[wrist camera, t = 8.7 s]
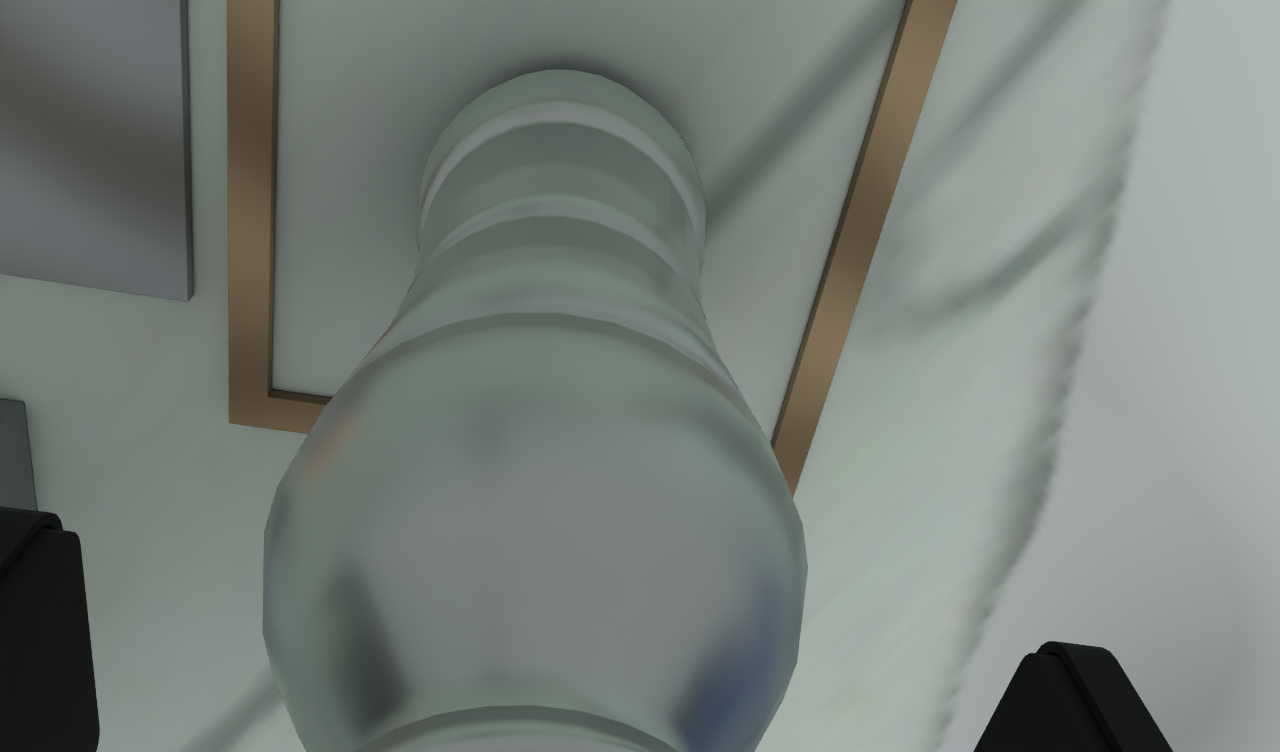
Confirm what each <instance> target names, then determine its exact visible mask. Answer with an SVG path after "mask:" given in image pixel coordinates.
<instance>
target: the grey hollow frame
mask: <svg viewBox="0 0 1280 752" xmlns="http://www.w3.org/2000/svg"><path fill="white" fill-rule="evenodd" d="M0 506H2V507H10V508H18V509H26V510H34V511H37V507H36V499H35V491H34V482H33V474H32V466H31V458H30V449H29V441H28V433H27V424H26V416H25V408H24V402H18V401H11V400H3V399H0Z"/></svg>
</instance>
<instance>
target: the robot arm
mask: <svg viewBox="0 0 1280 752" xmlns="http://www.w3.org/2000/svg"><path fill="white" fill-rule="evenodd" d="M99 734H100V727H99V717H98V708H97V698H96V688H95V679H94V669H93V660H92V650H91V640H90V631H89V621H88V612H87V602H86V592H85V583H84V573H83V564H82V554H81V544H80V540H79V537H78V535H77V534H76V533H75V532H71V531H63V527H62V523H61V520H60V519H59V517H58V516H57V514H53V513H49V512H41V511H34V510H26V509H18V508H10V507H2V506H0V752H96V750H97V746H98V741H99ZM974 752H1173V751H1172V749H1171V747H1170V746H1169V744H1168V743H1167V741H1166V739H1165V738H1164V736H1163V734H1162V733H1161V731H1160V730H1159V728H1158V726H1157V725H1156V723H1155V721H1154V720H1153V718H1152V716H1151V715H1150V713H1149V712H1148V710H1147V708H1146V707H1145V705H1144V703H1143V702H1142V700H1141V698H1140V697H1139V695H1138V694H1137V692H1136V690H1135V689H1134V687H1133V686H1132V684H1131V682H1130V681H1129V679H1128V677H1127V676H1126V674H1125V672H1124V671H1123V669H1122V668H1121V666H1120V664H1119V663H1118V661H1117V659H1115V657H1114V656H1113V655H1112V654H1111V652H1110V651H1108V650H1106V649H1104V648H1101V647H1094V646H1086V645H1079V644H1070V643H1063V642H1055V641H1053V642H1052V641H1049V642H1047V643H1045V644H1043V645H1041V647H1040V648H1039V649H1038V651H1037V652H1036V653H1029V654H1028V655H1026V656H1025V657H1024V658H1023V660H1022V661H1021V663H1020V665H1019V666H1018V668H1017V670H1016V672H1015V674H1014V676H1013V678H1012V680H1011V682H1010V683H1009V685H1008V687H1007V689H1006V691H1005V693H1004V695H1003V697H1002V699H1001V700H1000V702H999V704H998V706H997V708H996V710H995V712H994V714H993V716H992V718H991V719H990V721H989V723H988V725H987V727H986V729H985V731H984V733H983V735H982V736H981V738H980V740H979V742H978V744H977V746H976V748H975V750H974Z"/></svg>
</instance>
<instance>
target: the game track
mask: <svg viewBox="0 0 1280 752" xmlns="http://www.w3.org/2000/svg"><path fill="white" fill-rule="evenodd" d="M956 3H957V0H907V3H906V6H905V10H904V13H903V16H902V19H901V23H900V26H899V29H898V32H897V36H896V39H895V42H894V45H893V49H892V52H891V55H890V58H889V62H888V65H887V68H886V71H885V75H884V78H883V81H882V84H881V88H880V91H879V94H878V97H877V101H876V104H875V107H874V110H873V114H872V117H871V120H870V123H869V127H868V130H867V133H866V136H865V140H864V143H863V146H862V149H861V153H860V156H859V159H858V162H857V166H856V169H855V172H854V175H853V179H852V182H851V185H850V188H849V192H848V195H847V198H846V201H845V205H844V208H843V211H842V214H841V218H840V221H839V224H838V227H837V231H836V234H835V237H834V240H833V244H832V247H831V250H830V253H829V257H828V260H827V263H826V266H825V270H824V273H823V276H822V279H821V283H820V286H819V289H818V292H817V296H816V299H815V302H814V305H813V309H812V312H811V315H810V319H809V322H808V325H807V328H806V332H805V335H804V338H803V341H802V345H801V348H800V351H799V354H798V358H797V361H796V364H795V367H794V371H793V374H792V377H791V380H790V384H789V387H788V390H787V393H786V397H785V400H784V403H783V406H782V410H781V413H780V416H779V419H778V423H777V426H776V429H775V432H774V436H773V439H772V442H771V447H772V449H773V452H774V454H775V457H776V459H777V462H778V464H779V467H780V469H781V471H782V473H783V476H784V478H785V480H786V482H787V485H788V488H789V490H790V493H791V495H792V498H793V496H794V493H795V490H796V487H797V484H798V481H799V478H800V475H801V472H802V469H803V466H804V463H805V460H806V457H807V454H808V451H809V448H810V445H811V442H812V439H813V436H814V433H815V430H816V427H817V424H818V421H819V418H820V415H821V412H822V409H823V406H824V403H825V400H826V397H827V394H828V391H829V388H830V385H831V382H832V378H833V375H834V372H835V369H836V366H837V363H838V360H839V357H840V354H841V351H842V348H843V345H844V342H845V339H846V336H847V333H848V330H849V327H850V324H851V321H852V318H853V315H854V312H855V309H856V306H857V303H858V300H859V297H860V294H861V291H862V288H863V285H864V282H865V279H866V276H867V273H868V270H869V267H870V263H871V260H872V257H873V254H874V251H875V248H876V245H877V242H878V239H879V236H880V233H881V230H882V227H883V224H884V221H885V218H886V215H887V212H888V209H889V206H890V203H891V200H892V197H893V194H894V191H895V188H896V185H897V182H898V179H899V176H900V173H901V170H902V167H903V164H904V161H905V158H906V155H907V152H908V149H909V145H910V142H911V139H912V136H913V133H914V130H915V127H916V124H917V121H918V118H919V115H920V112H921V109H922V106H923V103H924V100H925V97H926V94H927V91H928V88H929V85H930V82H931V79H932V76H933V73H934V70H935V67H936V64H937V61H938V58H939V55H940V52H941V49H942V46H943V43H944V40H945V37H946V34H947V30H948V27H949V24H950V21H951V18H952V15H953V12H954V9H955V6H956ZM278 28H279V0H227V104H228V304H229V423H232V424H239V425H247V426H254V427H261V428H269V429H276V430H283V431H291V432H298V433H305V434H309V433H310V431H311V429H312V428H313V426H314V424H315V423H316V421H317V419H318V417H319V416H320V414H321V412H322V411H323V409H324V407H325V406H326V405H327V404H328V403H329V402H330V401H331V400H332V399H333V398H326V397H319V396H312V395H305V394H298V393H291V392H284V391H277V390H272V345H273V292H274V239H275V186H276V133H277V81H278ZM0 274H6V275H12V276H19V277H26V278H32V279H39V280H45V281H52V282H59V283H65V284H72V285H78V286H85V287H92V288H98V289H105V290H112V291H118V292H125V293H131V294H138V295H145V296H151V297H158V298H165V299H171V300H178V301H184V302H188V301H189V300H190V299H191V298H192V297H193V258H192V215H191V173H190V131H189V88H188V46H187V4H186V0H0Z"/></svg>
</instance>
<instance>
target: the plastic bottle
mask: <svg viewBox="0 0 1280 752" xmlns="http://www.w3.org/2000/svg"><path fill="white" fill-rule="evenodd" d="M705 225H706V208H705V201H704V195H703V188H702V183H701V180H700V177H699V175H698V172H697V169H696V166H695V164H694V161H693V158H692V156H691V154H690V153H689V151H688V149H687V148H686V146H685V144H684V143H683V141H682V140H681V138H680V136H679V135H678V133H677V131H676V130H675V129H674V128H673V127H672V126H671V125H670V124H669V123H668V122H667V121H666V120H665V118H664V117H663V116H662V115H661V114H660V113H659V112H658V111H657V110H656V109H655V108H654V107H652V106H651V105H650V104H648V103H647V102H646V101H644V100H643V99H642V98H640V97H639V96H637V95H636V94H635V93H633V92H632V91H630V90H629V89H628V88H626V87H625V86H622V85H620V84H618V83H616V82H613V81H611V80H609V79H607V78H605V77H602V76H600V75H595V74H591V73H586V72H581V71H577V70H544V71H539V72H534V73H529V74H524V75H520V76H518V77H516V78H514V79H511V80H509V81H507V82H505V83H502V84H500V85H498V86H496V87H494V88H492V89H490V90H488V91H486V92H485V93H483V94H482V95H481V96H479V97H478V98H476V99H475V100H474V101H472V102H471V103H470V104H468V105H467V106H466V107H464V108H463V109H462V110H461V111H460V112H459V113H458V115H457V116H456V117H455V118H454V119H453V120H452V121H451V122H450V124H449V125H448V126H447V127H446V128H445V129H444V130H443V132H442V134H441V136H440V137H439V139H438V141H437V143H436V145H435V146H434V148H433V150H432V152H431V153H430V155H429V158H428V162H427V165H426V168H425V171H424V174H423V178H422V181H421V187H420V197H419V208H418V220H417V232H416V234H417V243H418V252H419V254H418V260H417V265H416V271H415V276H414V281H413V283H412V285H411V287H410V289H409V291H408V293H407V296H406V297H405V299H404V301H403V302H402V304H401V306H400V308H399V310H398V312H397V314H396V316H395V317H394V319H393V321H392V323H391V325H390V327H389V328H388V329H387V330H386V332H385V333H384V334H383V335H382V337H381V338H380V339H379V340H378V342H377V343H376V344H375V345H374V347H373V348H372V349H371V350H370V352H369V353H368V354H367V355H366V357H365V358H364V359H363V360H362V362H361V363H360V364H359V365H358V367H357V368H356V369H355V370H354V372H353V373H352V374H351V375H350V377H349V378H348V379H347V380H346V382H345V383H344V384H343V385H342V387H341V388H340V389H339V390H338V392H337V393H336V394H335V396H334V397H333V399H332V400H331V401H330V402H329V403H328V404H327V405H326V406H325V407H324V409H323V411H322V412H321V414H320V416H319V417H318V419H317V421H316V423H315V424H314V426H313V428H312V429H311V431H310V433H309V434H308V436H307V438H306V439H305V441H304V442H303V444H302V445H301V447H300V449H299V450H298V452H297V454H296V456H295V457H294V459H293V461H292V463H291V464H290V466H289V468H288V469H287V471H286V473H285V475H284V476H283V478H282V480H281V481H280V483H279V485H278V487H277V489H276V492H275V496H274V499H273V503H272V506H271V510H270V514H269V517H268V521H267V524H266V528H265V531H264V568H263V636H264V640H265V644H266V649H267V653H268V657H269V661H270V665H271V670H272V674H273V676H274V679H275V681H276V684H277V686H278V688H279V691H280V693H281V696H282V698H283V700H284V703H285V705H286V708H287V710H288V712H289V715H290V717H291V720H292V722H293V725H294V727H295V729H296V732H297V734H298V736H299V738H300V740H301V742H302V744H303V746H304V748H305V750H306V752H754V751H755V750H756V748H757V746H758V744H759V742H760V741H761V739H762V737H763V735H764V733H765V732H766V730H767V728H768V726H769V724H770V723H771V721H772V719H773V717H774V715H775V714H776V712H777V710H778V708H779V706H780V705H781V703H782V701H783V699H784V696H785V693H786V691H787V688H788V685H789V682H790V680H791V677H792V674H793V672H794V669H795V666H796V664H797V657H798V649H799V640H800V632H801V623H802V615H803V606H804V597H805V589H806V580H807V571H808V564H807V556H806V548H805V540H804V532H803V524H802V522H801V519H800V516H799V514H798V511H797V509H796V506H795V503H794V501H793V498H792V495H791V493H790V490H789V488H788V485H787V482H786V480H785V478H784V476H783V473H782V471H781V469H780V467H779V464H778V462H777V459H776V457H775V454H774V452H773V449H772V447H771V444H770V442H769V440H768V438H767V437H766V436H765V434H764V433H763V431H762V429H761V427H760V425H759V424H758V422H757V420H756V418H755V417H754V415H753V413H752V411H751V410H750V408H749V406H748V404H747V403H746V401H745V399H744V397H743V396H742V394H741V392H740V391H739V389H738V387H737V385H736V384H735V382H734V380H733V378H732V377H731V375H730V373H729V371H728V370H727V368H726V366H725V364H724V363H723V361H722V359H721V357H720V356H719V354H718V352H717V350H716V347H715V344H714V341H713V338H712V335H711V333H710V330H709V327H708V325H707V322H706V318H705V315H704V313H703V310H702V307H701V296H700V274H701V270H702V266H703V262H704V247H705Z"/></svg>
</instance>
